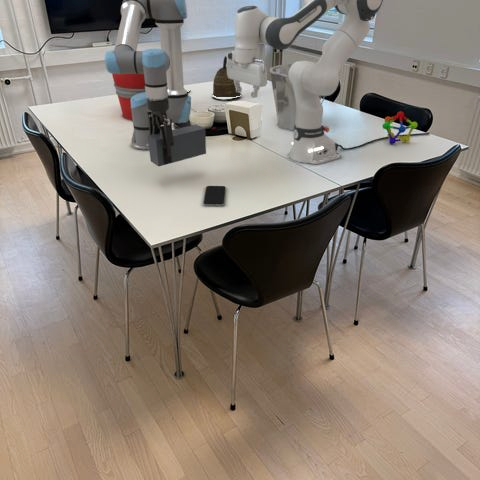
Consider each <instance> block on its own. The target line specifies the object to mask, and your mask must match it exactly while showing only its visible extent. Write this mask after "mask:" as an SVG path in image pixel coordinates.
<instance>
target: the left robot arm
mask: <svg viewBox="0 0 480 480" xmlns="http://www.w3.org/2000/svg"><path fill="white" fill-rule="evenodd" d="M120 15H121V20H120V23H119V27H118V32H117V36H116V40H115V45H114V50H107V51H105V54H104V64H105V68H106V70H107V72H108V73H109V74H112V73H114V74H144V78H145V90H146V92H143V93H139V94H136V95H134V96H133V97H132V98H131V111H132V118H133V120H132V125H133V132H132V135H131V147H132V148H134V149H135V150H141V151H149V142H148V135H152V134H157V133H161V136H162V140H163V144H164V146H163V155H164V164H167V165H170V164H173V163H172V160H171V147H172V146H174V141H173V132H172V130H173V124H184V123H188V122H189V120H190V118H191V117H190V116H191V108H192V96H191V95H188V94H189V93H190V92H191V91H192V90H191V89H189V90H190V91H189V90H186V89H185V84H184V83H185V82H184V67H183V65H184V64H183V50H182V33H181V28H182V27H183V25H184V23H185V20H186V19H187V18H188V9H187V3H186V0H123V1H122V3H121V6H120ZM146 19H153V20H154V23H155V25H156V26H157V27H158V28H159V39H160V48H148V49H144V50H137V49H138V43H139V39H140V35H141V28H142V24H143V22H145V20H146ZM188 91H189V92H188ZM187 92H188V93H187ZM169 163H170V164H169Z"/></svg>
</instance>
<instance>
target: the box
mask: <svg viewBox="0 0 480 480" xmlns="http://www.w3.org/2000/svg"><path fill="white" fill-rule="evenodd" d="M172 132H173V141H174V146H172V147H171V160H172V163H169V164H164V155H163V146H164V144H163V140H162V136H161V133H157V134H152V135H148V142H149V150H148V151H149V159H150V162H151V163H152V164H154V165H155V166H157V167H162V166H166V165H170V164H174V163H177V162H181V161H185V160H187V159H192V158H196V157H199V156H202V155H206V154H207V141H206V140H207V139H206V138H207V137H206V128H205V127H203V126H200V125H198V124H191V125H188V126H184V127H179V128H175V129H172Z"/></svg>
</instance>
